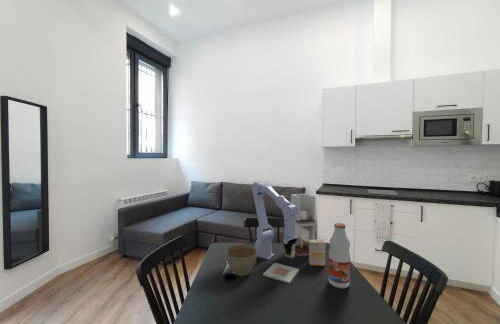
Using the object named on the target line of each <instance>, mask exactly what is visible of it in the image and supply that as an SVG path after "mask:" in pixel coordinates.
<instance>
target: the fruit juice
mask: <svg viewBox="0 0 500 324" xmlns="http://www.w3.org/2000/svg"><path fill="white" fill-rule="evenodd" d="M333 226H334V230H333V233H332V235H331V237H330V238H329V251H328V282H329V285H331V286H333V287H335V288H337V289H346V288H348V287H350V284H351V283H350V282H351V280H350V279H351V252H350V248H351V241H350V240H349V238H348V235H347V233H346V228H347V227H346V224H345V223H341V222H336V223H334V225H333Z"/></svg>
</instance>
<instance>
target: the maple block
mask: <svg viewBox="0 0 500 324" xmlns="http://www.w3.org/2000/svg"><path fill="white" fill-rule="evenodd" d="M284 251H285V250H284ZM295 256H296V254H295V244H293V245H292V248H291V254H290V255H287V254H286V251H285V252H284V257H286V258H289V259H290V258H291V259H294V257H295Z"/></svg>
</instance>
